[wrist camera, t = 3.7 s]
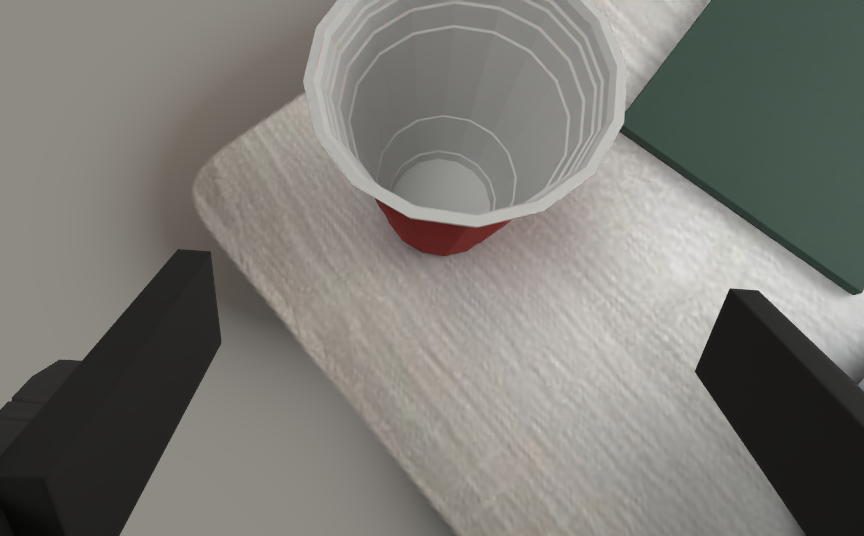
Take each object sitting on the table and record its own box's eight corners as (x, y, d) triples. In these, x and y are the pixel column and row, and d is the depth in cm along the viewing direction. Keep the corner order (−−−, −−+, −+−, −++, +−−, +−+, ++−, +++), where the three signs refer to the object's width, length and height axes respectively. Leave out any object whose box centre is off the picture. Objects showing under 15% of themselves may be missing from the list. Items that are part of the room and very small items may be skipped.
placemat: (613, 127, 31) (617, 121, 31) (767, -73, 36) (773, -81, 36) (853, 295, 30) (862, 293, 29) (978, 60, 35) (988, 54, 34)
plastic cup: (334, 116, 30) (301, -72, 19) (524, 116, 31) (605, -63, 19) (334, 307, 27) (295, 225, 16) (544, 301, 28) (652, 218, 17)
